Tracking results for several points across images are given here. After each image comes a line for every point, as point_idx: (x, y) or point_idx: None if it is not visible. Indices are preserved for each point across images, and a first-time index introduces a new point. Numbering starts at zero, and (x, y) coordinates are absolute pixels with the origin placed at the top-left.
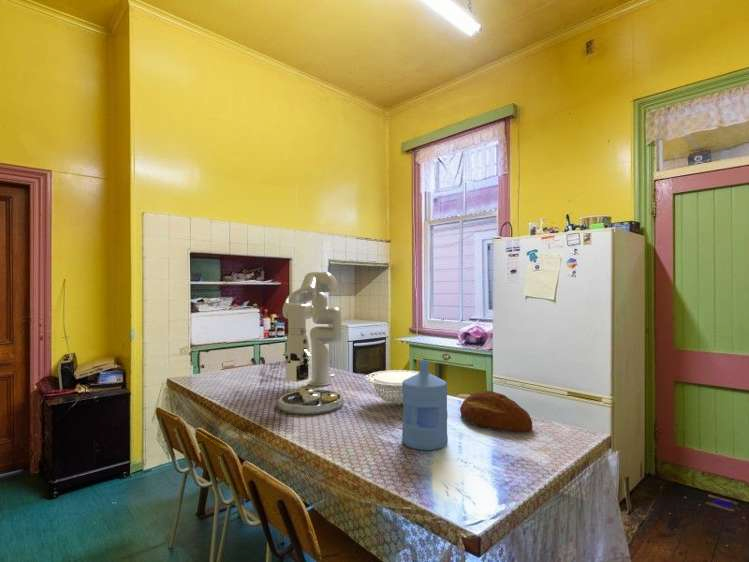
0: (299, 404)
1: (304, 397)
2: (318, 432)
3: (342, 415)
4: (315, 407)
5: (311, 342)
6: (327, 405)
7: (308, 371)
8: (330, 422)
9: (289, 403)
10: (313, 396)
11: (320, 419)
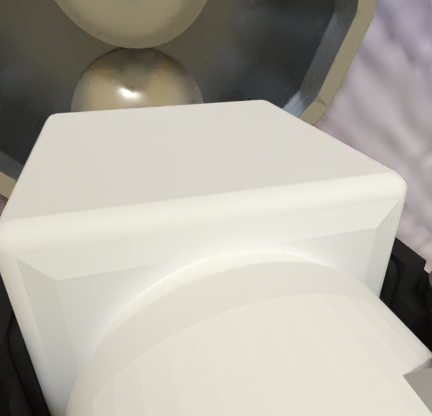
0: (99, 68)
1: (131, 47)
2: (425, 236)
3: (426, 12)
4: (316, 117)
5: None
6: (360, 37)
7: (312, 127)
8: (417, 137)
9: (4, 92)
10: (204, 3)
11: (358, 140)
